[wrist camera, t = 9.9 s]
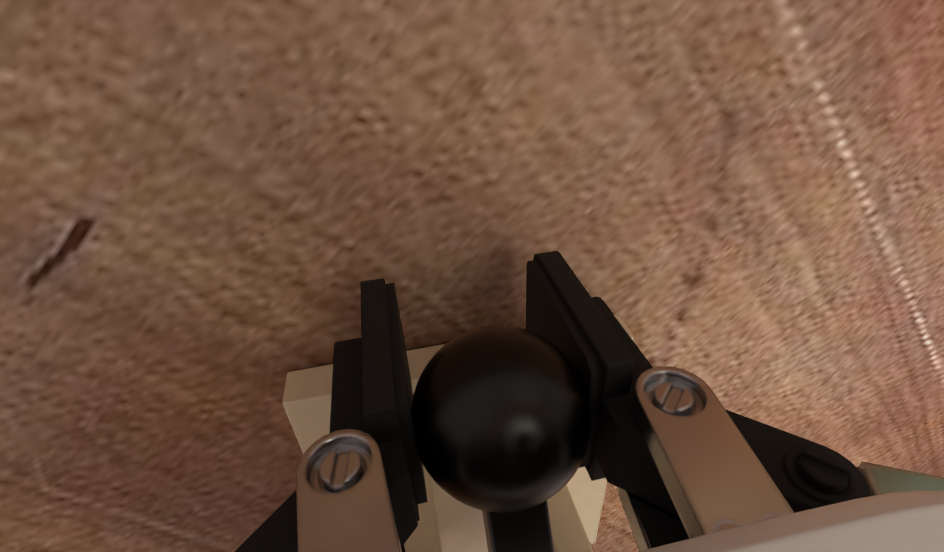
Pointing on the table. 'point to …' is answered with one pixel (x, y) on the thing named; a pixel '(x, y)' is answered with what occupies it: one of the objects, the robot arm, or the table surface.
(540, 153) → the table surface
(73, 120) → the table surface
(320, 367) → the lever bracket
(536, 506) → the black ball knob lever
